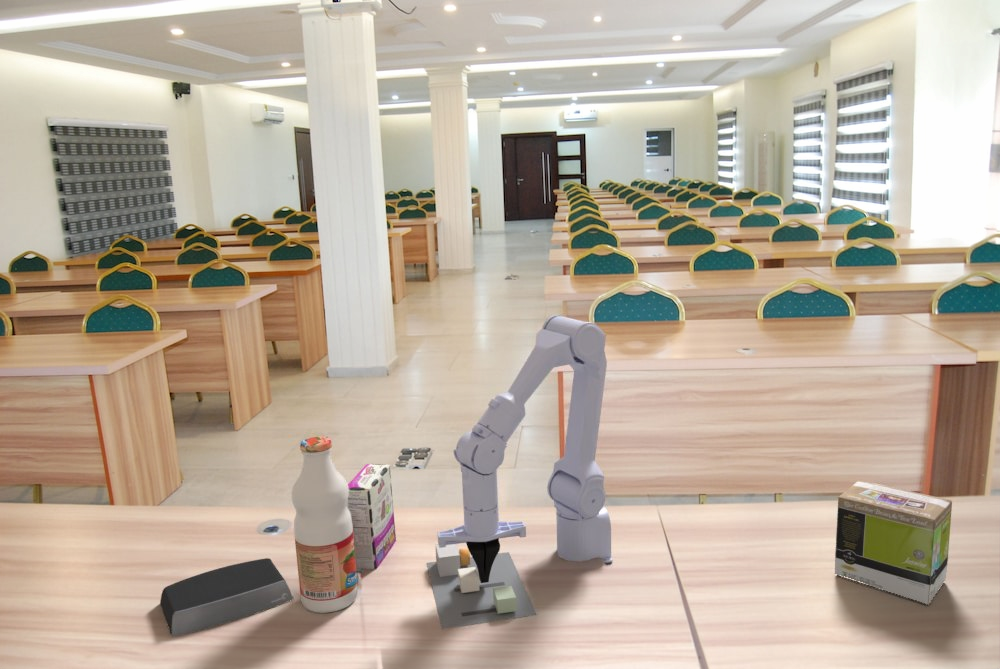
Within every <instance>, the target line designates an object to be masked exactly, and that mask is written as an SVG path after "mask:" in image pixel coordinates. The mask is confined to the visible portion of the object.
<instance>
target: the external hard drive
mask: <svg viewBox="0 0 1000 669" xmlns="http://www.w3.org/2000/svg"><path fill="white" fill-rule="evenodd" d="M292 599H293V600H294V597H293V595H292V592H291V589H290V587H289V585H288V582H287V581H286V580H285V578H284V577H283V575H282V574H281V572H280V571H279V570H278V568H277V567H276V565H275V564H274V563H273V561H272V559H271V558H267V557H266V558H261V559H260V558H259V559H254V560H250V561H249V560H248V561H245V562H240V563H236V564H231V565H226V566H222V567H220V568H216V569H213V570H208V571H205V572H202V573H199V574H196V575H193V576H190V577H187V578H185V579H182V580H180V581H177V582H175V583H172V584H169V585H167V586H164V588H163V590H162V592H161V595H160V602H159V604H160V607H161V609H162V613H163V616H164V618H165V619H164V620H165V621H166V624H168V625H167V627H169V628H168V629H169V630H168V631H169V634H170V635H171V637H172V638H175V637H180V636H183V635H187V634H188V635H189V634H191V633H195V632H199V631H203V630H206V629H210V628H213V627H217V626H221V625H223V624H227V623H230V622H233V621H237V620H239V619H240V620H241V619H242V618H243V619H244V618H247V617H249V616H253V615H255V614H257V613H261V612H263V610H264V611H267V610H270V609H272V608H276V607H277V605H278V606H280V605H283V603H284V604H285V602H286V603H288V602H287V601H289V602H291V601H293V600H292ZM290 600H291V601H290ZM275 606H276V607H275ZM266 609H267V610H266Z"/></svg>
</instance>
